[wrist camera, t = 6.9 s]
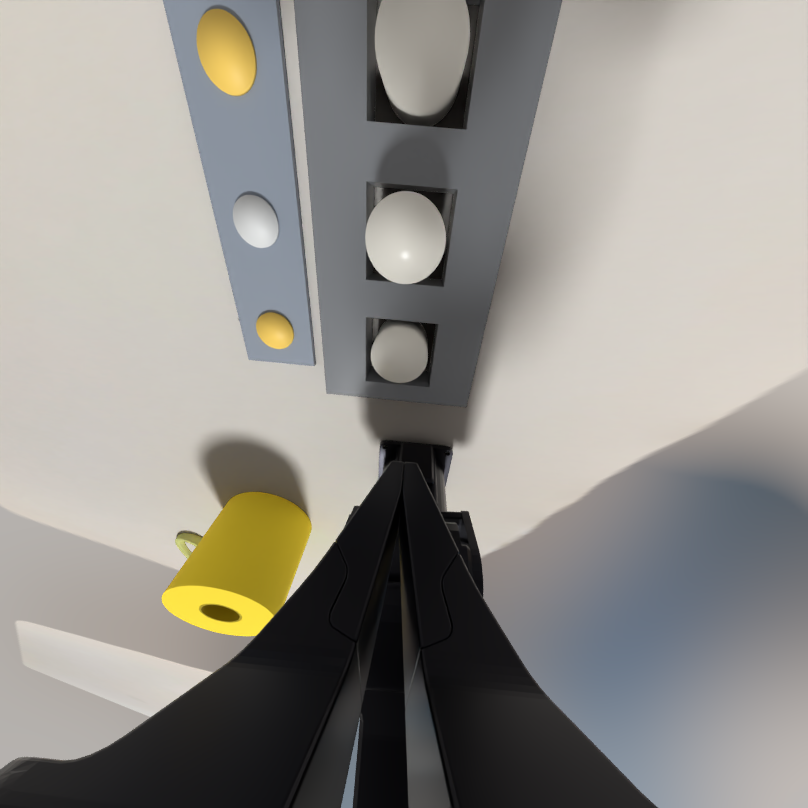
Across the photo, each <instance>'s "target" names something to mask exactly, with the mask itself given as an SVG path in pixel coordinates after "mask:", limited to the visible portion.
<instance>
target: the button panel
mask: <svg viewBox="0 0 808 808" xmlns="http://www.w3.org/2000/svg"><path fill="white" fill-rule="evenodd" d="M465 1H466V4H467V5H479V13H478V20H477V27H476V34H475V42H474V49H473V56H472V63H471V71H470V78H469V85H468V92H467V99H466V107H465V114H464V121H463V128H462V129H452V128H441V127H430V126H418V125H407V124H395V123H384V122H375V104H376V52H375V26H376V19H377V0H294V9H295V21H296V33H297V45H298V57H299V68H300V80H301V92H302V104H303V116H304V128H305V140H306V152H307V164H308V176H309V188H310V200H311V212H312V224H313V236H314V248H315V260H316V272H317V284H318V296H319V308H320V320H321V332H322V344H323V356H324V368H325V380H326V392H327V394H338V395H348V396H358V397H368V398H378V399H388V400H398V401H408V402H418V403H429V404H439V405H449V406H459V407H467V402H468V398H469V394H470V390H471V385H472V381H473V377H474V373H475V368H476V364H477V360H478V356H479V351H480V347H481V343H482V339H483V334H484V330H485V326H486V322H487V317H488V313H489V309H490V305H491V300H492V296H493V292H494V288H495V283H496V279H497V275H498V271H499V266H500V262H501V258H502V254H503V250H504V245H505V241H506V237H507V233H508V228H509V224H510V220H511V216H512V211H513V207H514V203H515V199H516V194H517V190H518V186H519V182H520V177H521V173H522V169H523V165H524V160H525V156H526V152H527V148H528V143H529V139H530V135H531V131H532V126H533V122H534V118H535V114H536V109H537V105H538V101H539V97H540V92H541V88H542V84H543V80H544V76H545V71H546V67H547V63H548V59H549V54H550V50H551V46H552V42H553V37H554V33H555V29H556V25H557V20H558V16H559V12H560V8H561V3H562V0H465ZM374 187H384V188H395V189H406V190H417V191H428V192H439V193H450V194H453V201H452V208H451V215H450V223H449V230H448V237H447V244H446V252H445V259H444V266H443V273H442V279H431V278H425V279H423V280H421V281H419V282H416V283H413V284H399V283H395V282H392V281H390V280H388V279H386V278H385V277H383V276H382V275H381V274H378V273H373V264H372V262H371V261H370V258H369V256H368V253H367V249H366V242H365V233H366V226H367V223H368V219H369V217H370V215H371V213H372V211H373V209H374ZM372 318H380V319H391V320H401V321H412V322H422V323H433V324H435V331H434V338H433V346H432V353H431V360H430V367H429V371H423V372H422V374H421V375H420V376H418V377H417V378H416V379H414V380H412V381H409V382H405V383H395V382H391V381H388V380H386V379H384V378H383V377H381V376H380V375H379V374H378V373H377V372H376V370H375V369H374V367H373V366H371V349H372Z"/></svg>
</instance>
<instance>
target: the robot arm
mask: <svg viewBox="0 0 808 808" xmlns="http://www.w3.org/2000/svg"><path fill="white" fill-rule="evenodd" d="M384 445H386V446H387V447H385V446H384ZM445 452H448V453H445ZM452 455H453V451H452V448H450V447H448V446H438V445H428V444H418V443H408V442H398V441H388V440H384V441H382V442H381V444H380V454H379V479H378V481H377V482H376V484H375V485H374V487H373V488H372V489H371V491H370V492H369V494H368V495H367V496H366V498H365V499H364V501H363V502H362V504H361V505H360V506H354V508H353V511H352V513H351V514H350V515H349V518H348V520H347V522H346V525H345V527H344V529H343V530H342V532H341V533H340V535H339V536H338V538H337V539H336V542H334V543H333V544H332V546H331V547H330V549H329V550H328V551H327V553H326V554H325V556H324V557H323V558H322V560H321V561H320V562H319V564H318V565H317V566H316V568H315V569H314V570H313V571H312V573H311V574H310V575H309V576H308V577H307V579H306V580H305V581H304V582H303V583H302V584H301V586H300V587H299V588H298V589H297V590H296V591H295V593H294V594H293V595H292V596H291V597H290V598H289V599H288V600H287V602H286V603H285V604H284V605H283V606H282V607H281V608H280V610H279V611H278V612H277V613H276V614H275V615H274V616H273V617H272V619H271V620H270V621H269V622H268V623H267V624H266V625H265V627H264V628H263V629H262V630H261V631H260V632H259V633H258V634H257V635H256V637H255V638H254V639H253V640H252V641H251V642H250V643H249V644H248V645H247V646H246V647H245V648H244V649H243V650H242V651H241V652H240V653H239V654H237V655H236V656H235V657H234V658H233V659H231V660H230V661H229V662H228V663H227V664H225V665H224V666H223V667H221V668H220V669H218V670H217V671H215V672H214V673H212V674H211V675H210V676H208V677H207V678H205V679H204V680H203V681H201V682H200V683H198V684H197V685H196V686H194V687H193V688H191V689H190V690H188V691H187V692H186V693H184V694H183V695H181V696H180V697H179V698H177V699H176V700H174V701H173V702H172V703H170V704H169V705H167V706H166V707H164V708H163V709H162V710H160V711H159V712H157V713H156V714H155V715H153V716H152V717H150V718H149V719H147V720H146V721H145V722H143V723H142V724H140V725H139V726H138V727H136V728H135V729H133V730H132V731H131V732H129V733H128V734H126V735H125V736H123V737H122V738H120V739H119V740H117V741H115V742H114V743H112V744H111V745H109V746H107V747H105V748H103V749H101V750H99V751H97V752H95V753H93V754H91V755H88V756H85V757H82V758H78V759H75V760H56V759H46V758H37V757H21V758H17V759H15V760H13V761H11V762H10V763H8V764H7V765H6V766H4V767H3V768H2V769H0V808H341V803H342V798H343V794H344V789H345V784H346V779H347V775H348V769H349V765H350V760H351V755H352V750H353V746H354V740H355V736H356V731H357V727H358V722H359V717H360V726H359V739H358V752H357V763H356V775H355V786H354V798H353V808H658V807H656V806H655V805H654V804H653V803H652V802H651V801H650V800H649V799H648V798H647V797H646V796H645V795H644V794H642V793H641V792H640V791H639V790H638V789H637V788H636V787H635V786H634V785H633V784H632V782H631V781H630V780H629V779H627V777H626V776H625V775H624V774H623V773H622V772H621V771H620V770H619V769H618V768H617V767H616V766H615V765H614V764H613V763H612V762H611V761H610V760H609V759H608V758H607V757H606V756H605V755H604V754H603V753H602V752H601V751H600V750H599V749H598V748H597V747H596V746H595V745H594V743H593V742H592V741H591V740H590V739H588V737H587V736H586V735H585V734H584V733H583V732H582V731H581V730H580V729H579V728H578V727H577V726H576V725H575V724H574V723H573V722H572V721H571V720H570V719H569V718H568V717H567V716H566V715H565V714H564V713H563V712H562V711H561V710H560V709H559V708H558V707H557V706H556V705H555V703H553V702H552V700H550V698H549V697H548V696H547V695H546V694H545V693H544V691H543V690H542V689H541V688H540V687H539V685H538V684H537V683H536V681H535V680H534V679H533V678H532V676H531V675H530V673H529V672H528V670H527V669H526V667H525V666H524V664H523V663H522V661H521V659H520V658H519V656H518V655H517V653H516V651H515V650H514V648H513V646H512V645H511V643H510V642H509V640H508V638H507V637H506V635H505V633H504V632H503V630H502V629H501V627H500V625H499V624H498V622H497V620H496V619H495V617H494V616H493V614H492V612H491V611H490V609H489V607H488V606H487V604H486V602H485V601H484V599H483V575H482V564H481V558H480V553H479V548H478V545H477V541H476V537H475V534H474V530H473V527H472V523H471V519H470V516H469V512H468V511H461V512H447V507H446V494H445V486H446V482H447V477H448V473H449V468H450V464H451V460H452Z"/></svg>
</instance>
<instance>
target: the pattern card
mask: <svg viewBox="0 0 808 808" xmlns="http://www.w3.org/2000/svg"><path fill="white" fill-rule="evenodd" d="M163 3H164V7H165V11H166V15H167V19H168V23H169V28H170V32H171V36H172V40H173V44H174V49H175V53H176V57H177V61H178V65H179V70H180V74H181V78H182V82H183V86H184V90H185V95H186V99H187V103H188V107H189V111H190V116H191V120H192V124H193V128H194V132H195V136H196V141H197V145H198V149H199V153H200V157H201V162H202V166H203V170H204V174H205V178H206V182H207V187H208V191H209V195H210V199H211V203H212V208H213V212H214V216H215V220H216V224H217V229H218V233H219V237H220V241H221V245H222V249H223V254H224V258H225V262H226V266H227V270H228V275H229V279H230V283H231V287H232V291H233V295H234V300H235V304H236V308H237V312H238V316H239V321H240V325H241V329H242V333H243V337H244V341H245V346H246V350H247V354H248V358H249V360H257V361H267V362H277V363H288V364H298V365H308V366H315V364H316V361H315V351H314V341H313V331H312V321H311V311H310V301H309V291H308V281H307V271H306V261H305V252H304V242H303V232H302V222H301V212H300V202H299V192H298V182H297V172H296V162H295V152H294V142H293V133H292V123H291V113H290V103H289V93H288V83H287V73H286V63H285V53H284V43H283V33H282V24H281V14H280V4H279V0H163Z"/></svg>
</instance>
